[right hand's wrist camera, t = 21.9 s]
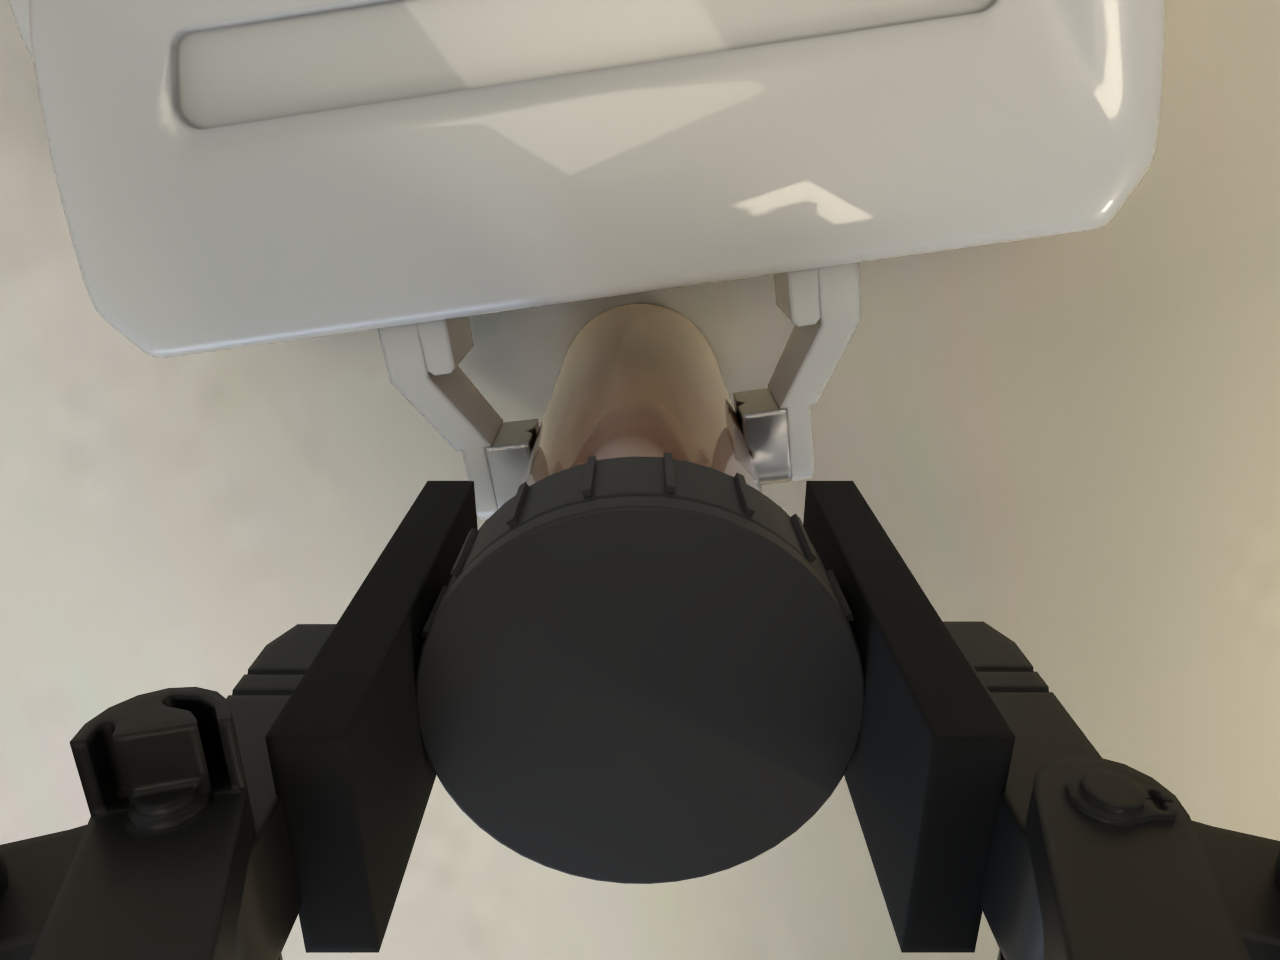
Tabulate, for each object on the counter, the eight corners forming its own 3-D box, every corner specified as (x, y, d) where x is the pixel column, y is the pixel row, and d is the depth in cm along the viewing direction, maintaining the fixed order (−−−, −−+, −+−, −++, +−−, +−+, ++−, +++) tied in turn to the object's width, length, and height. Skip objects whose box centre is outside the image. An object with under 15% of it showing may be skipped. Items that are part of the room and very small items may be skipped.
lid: (834, 789, 13) (862, 880, 11) (464, 802, 13) (440, 895, 11) (848, 440, 11) (885, 491, 9) (412, 460, 11) (373, 514, 9)
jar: (657, 269, 24) (681, 442, 10) (748, 397, 25) (883, 707, 11) (529, 365, 25) (388, 644, 11) (624, 483, 26) (606, 867, 12)
